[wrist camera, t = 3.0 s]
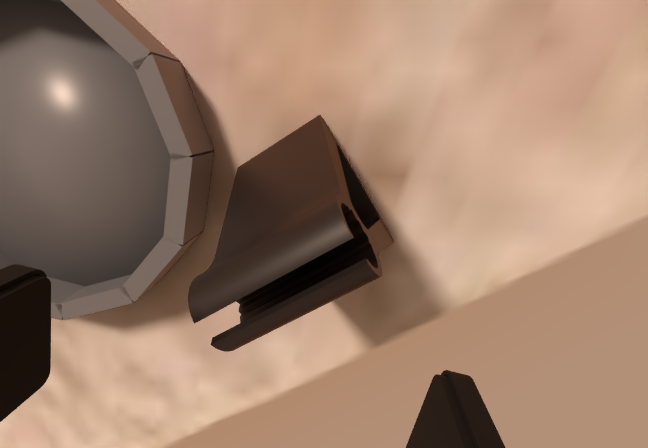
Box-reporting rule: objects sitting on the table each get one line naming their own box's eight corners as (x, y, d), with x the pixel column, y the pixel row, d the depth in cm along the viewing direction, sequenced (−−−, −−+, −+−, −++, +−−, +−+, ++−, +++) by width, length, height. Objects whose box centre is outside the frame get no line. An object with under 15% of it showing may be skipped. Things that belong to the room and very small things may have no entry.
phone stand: (393, 240, 23) (431, 367, 11) (314, 281, 24) (275, 431, 13) (321, 114, 21) (277, 112, 9) (239, 166, 22) (114, 219, 11)
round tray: (231, 21, 20) (209, 5, 17) (191, 322, 26) (171, 348, 23) (-110, -61, 20) (-188, -91, 17) (-69, 255, 26) (-122, 273, 23)
